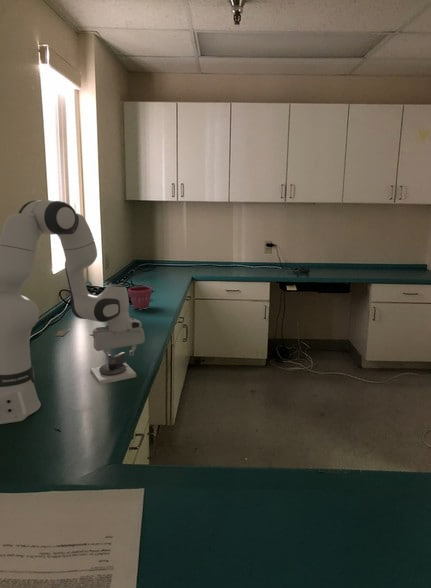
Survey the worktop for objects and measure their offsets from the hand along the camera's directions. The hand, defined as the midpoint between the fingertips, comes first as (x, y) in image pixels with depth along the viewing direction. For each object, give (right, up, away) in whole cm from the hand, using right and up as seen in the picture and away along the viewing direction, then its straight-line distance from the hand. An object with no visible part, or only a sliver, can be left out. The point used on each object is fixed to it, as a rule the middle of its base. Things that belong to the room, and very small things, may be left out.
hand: (120, 357), depth 179 cm
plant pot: (-8, +16, +95) cm, 97 cm away
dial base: (-2, -6, -6) cm, 9 cm away
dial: (-1, -4, -6) cm, 7 cm away
